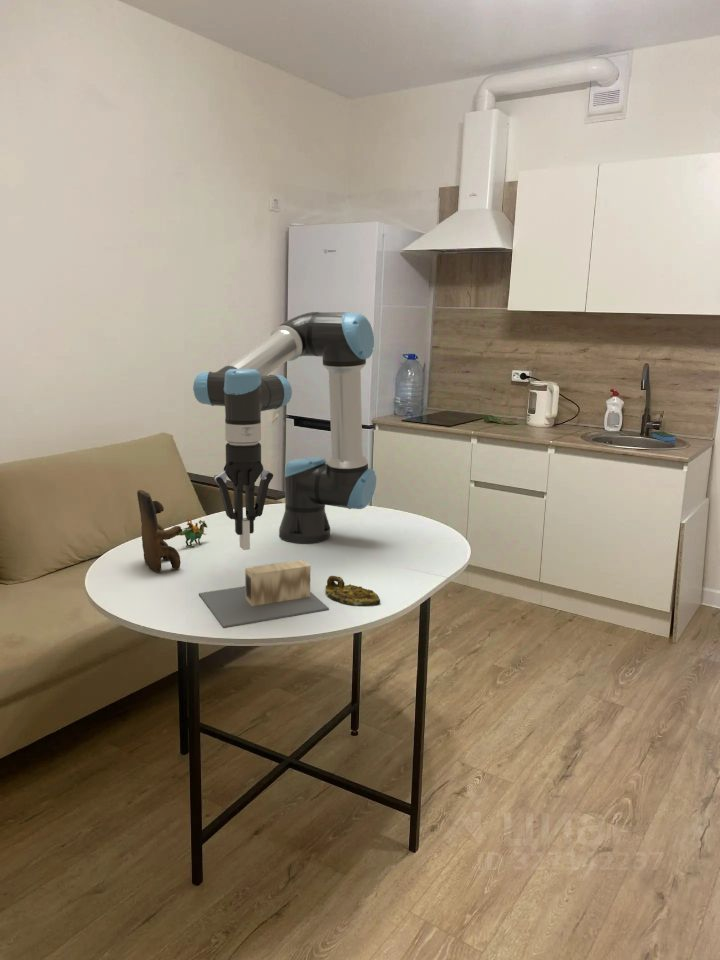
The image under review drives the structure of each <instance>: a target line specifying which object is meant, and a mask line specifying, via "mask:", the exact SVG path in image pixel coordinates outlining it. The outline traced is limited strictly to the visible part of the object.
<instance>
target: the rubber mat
mask: <svg viewBox="0 0 720 960" xmlns="http://www.w3.org/2000/svg"><path fill="white" fill-rule="evenodd" d="M198 596H199V597H200V598H201V600H202V601H203V602H204V604H205V605H206V607H207V608H208V609H209V610H210V612H211V613H212V615H213V616H214V617H215V619H216V620H217V621H218V623H219V624H220V626H221V627H222V628H223V629H225V628H231V627H238V626H243V625H248V624H255V623H260V622H261V623H262V622H266V621H271V620H276V619H277V620H278V619H282V618H284V619H285V618H288V617H289V618H290V617H295V616H301V615H306V614H307V615H308V614H312V613H317V612H323V611H329V609H330V608H329V607H328V605H326V604H325V603H324V602H323V601H322V600H321V599H320V598H318V597H317V596H316V595H315V594H314V593H312V592H311V591H310V597H306V598H299V599H293V600H287V601H281V602H275V603H269V604H263V605H256V606H251V605H250V603H249V602H248V601H247V600H246V586H238V587H230V588H225V589H218V590H212V591H211V590H210V591H205V592H199V593H198Z"/></svg>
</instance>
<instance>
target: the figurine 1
mask: <svg viewBox="0 0 720 960" xmlns="http://www.w3.org/2000/svg"><path fill="white" fill-rule="evenodd" d="M136 495H137V501H138V506H139V507H138V508H139V513H140V523H141V541H142V542H141V543H142V551H143V560H144V562H145V565H146V566H147V567H148V568H149V569H151V570H153V571H154V572H156V573H160V572H161V571H162V559H163V561H169V562H170V565H171V569H173V570H178V569H180V568H181V556H180V553H179V552H178V550H177V549H176V548H175V547H173V546H170V545H169V544H168V543H167V542H166V541H167V540H170V539H173V538H175V537H178V536H179V535H178V534H179V533H181V532H182V531H183V528H182V527H181V526H180V525H175V526H173V527H171V528H169V529H166V530H165V529H164V528H163V526H161V525H160V524H159V523H158V518H157V514H161V513H162V512H164V505H163V504H162V503H161V502H160V501H158V500H153V499H152V497H151V494H150V492H147V491H145V490H143V489H139V490H137V494H136ZM177 535H178V536H177Z"/></svg>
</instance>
